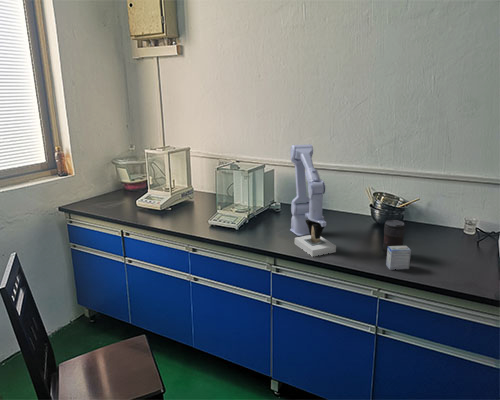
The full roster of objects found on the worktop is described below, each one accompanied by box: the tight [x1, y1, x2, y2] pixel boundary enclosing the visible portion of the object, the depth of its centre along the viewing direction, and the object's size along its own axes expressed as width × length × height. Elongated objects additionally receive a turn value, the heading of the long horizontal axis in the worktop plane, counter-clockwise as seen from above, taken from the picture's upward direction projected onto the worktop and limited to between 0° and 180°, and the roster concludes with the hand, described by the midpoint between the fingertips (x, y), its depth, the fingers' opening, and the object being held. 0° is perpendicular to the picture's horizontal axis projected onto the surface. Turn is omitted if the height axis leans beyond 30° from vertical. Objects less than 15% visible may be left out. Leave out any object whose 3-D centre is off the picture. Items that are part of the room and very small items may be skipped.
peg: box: [311, 225, 320, 243], centre depth 181 cm, size 4×4×7 cm
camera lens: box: [382, 219, 406, 258], centre depth 172 cm, size 8×8×15 cm
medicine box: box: [385, 245, 412, 271], centre depth 162 cm, size 8×4×9 cm, turn 92°
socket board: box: [294, 234, 337, 258], centre depth 183 cm, size 16×12×3 cm
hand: (314, 236), depth 182 cm, fingers closed on peg, 4 cm apart
